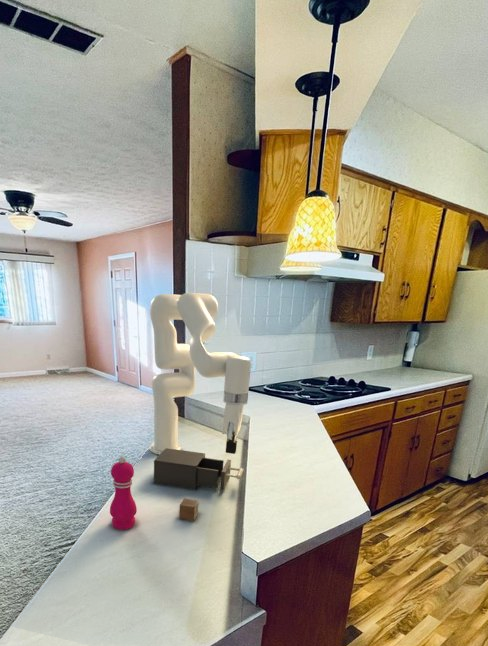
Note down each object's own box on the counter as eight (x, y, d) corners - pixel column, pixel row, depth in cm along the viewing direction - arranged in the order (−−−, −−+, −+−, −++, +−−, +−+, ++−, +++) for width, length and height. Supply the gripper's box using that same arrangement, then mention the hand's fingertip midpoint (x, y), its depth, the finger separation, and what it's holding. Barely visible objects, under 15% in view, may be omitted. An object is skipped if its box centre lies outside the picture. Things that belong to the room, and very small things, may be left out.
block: (183, 511, 122) (184, 498, 121) (198, 513, 122) (198, 500, 120) (179, 518, 118) (179, 504, 117) (194, 521, 117) (194, 507, 116)
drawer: (243, 479, 144) (245, 461, 142) (238, 493, 134) (239, 474, 131) (192, 472, 148) (193, 454, 145) (184, 485, 137) (184, 466, 135)
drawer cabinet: (204, 475, 148) (205, 453, 145) (195, 490, 136) (196, 466, 133) (165, 470, 151) (166, 448, 147) (153, 483, 139) (153, 460, 136)
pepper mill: (131, 532, 110) (130, 463, 102) (105, 528, 111) (103, 460, 104) (140, 519, 117) (140, 454, 109) (116, 515, 118) (114, 450, 110)
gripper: (227, 391, 134) (223, 443, 141) (219, 401, 121) (214, 458, 128) (250, 393, 133) (245, 446, 140) (244, 404, 120) (238, 462, 127)
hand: (230, 452), depth 134 cm, fingers closed
